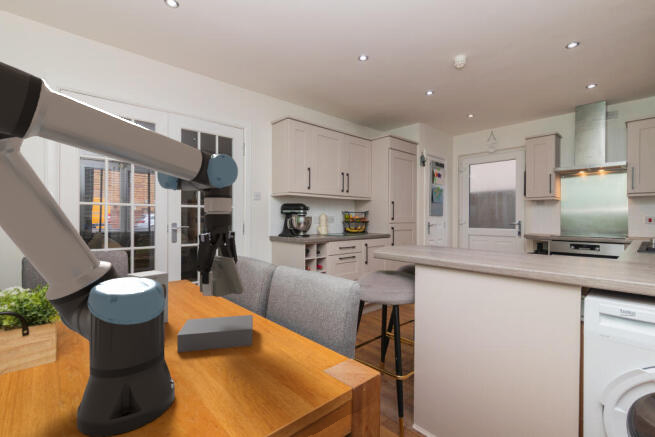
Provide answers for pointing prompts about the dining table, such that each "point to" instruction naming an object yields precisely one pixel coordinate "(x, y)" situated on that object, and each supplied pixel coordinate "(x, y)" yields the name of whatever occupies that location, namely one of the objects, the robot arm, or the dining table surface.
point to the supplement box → (159, 277)
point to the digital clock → (224, 277)
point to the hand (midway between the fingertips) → (218, 291)
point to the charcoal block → (215, 333)
